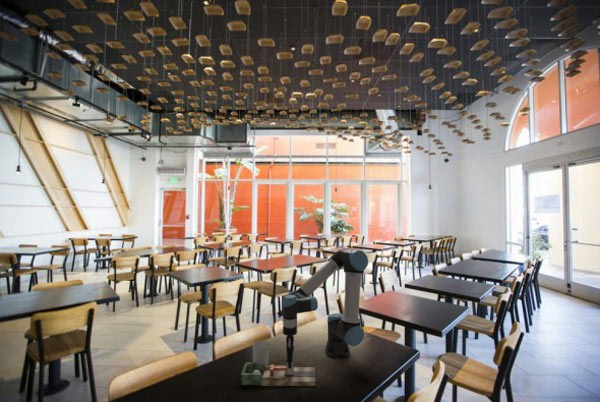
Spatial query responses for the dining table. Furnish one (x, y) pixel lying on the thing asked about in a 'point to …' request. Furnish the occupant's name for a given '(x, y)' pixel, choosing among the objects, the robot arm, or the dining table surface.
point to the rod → (282, 368)
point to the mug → (261, 352)
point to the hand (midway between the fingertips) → (290, 371)
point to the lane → (277, 376)
